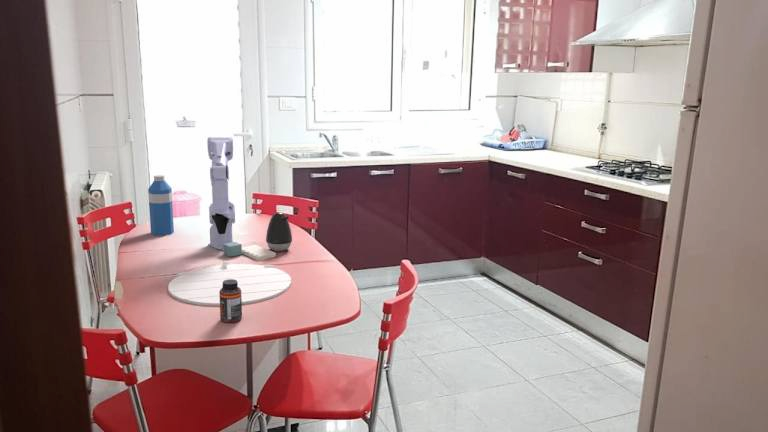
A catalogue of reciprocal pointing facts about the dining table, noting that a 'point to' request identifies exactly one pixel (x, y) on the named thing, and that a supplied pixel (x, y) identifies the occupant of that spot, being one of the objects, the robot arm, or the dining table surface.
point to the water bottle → (160, 207)
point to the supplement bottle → (230, 301)
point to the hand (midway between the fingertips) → (221, 233)
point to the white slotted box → (257, 252)
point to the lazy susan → (209, 280)
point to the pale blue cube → (232, 249)
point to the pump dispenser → (279, 233)
